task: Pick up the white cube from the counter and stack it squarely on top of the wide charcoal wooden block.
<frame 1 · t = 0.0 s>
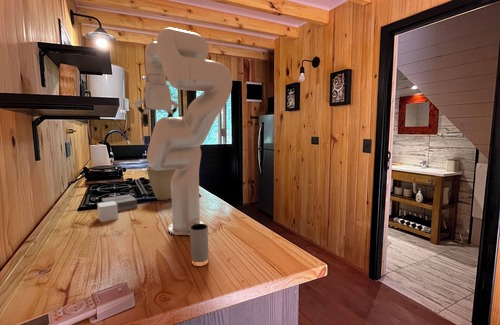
hand: (158, 124, 110), 37 cm above the counter, tool pointing down, fingers open, 9 cm apart
white cube: (108, 218, 107), on the counter
plant pot: (164, 198, 136), on the counter
charcoal block: (119, 207, 122), on the counter
grey cylinder: (200, 263, 73), on the counter
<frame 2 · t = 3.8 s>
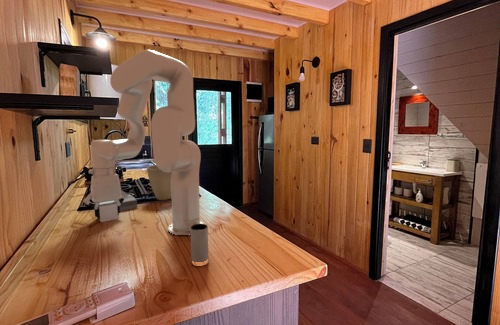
hand: (107, 216, 107), 1 cm above the counter, tool pointing down, fingers closed on white cube, 6 cm apart
white cube: (108, 218, 107), on the counter, touching gripper
everything else where it was.
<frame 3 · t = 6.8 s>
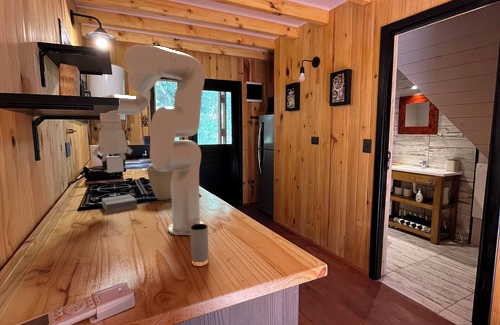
hand: (114, 168, 116), 18 cm above the counter, tool pointing down, fingers closed on white cube, 6 cm apart
white cube: (114, 170, 116), point 17 cm above the counter, touching gripper
everything else where it was.
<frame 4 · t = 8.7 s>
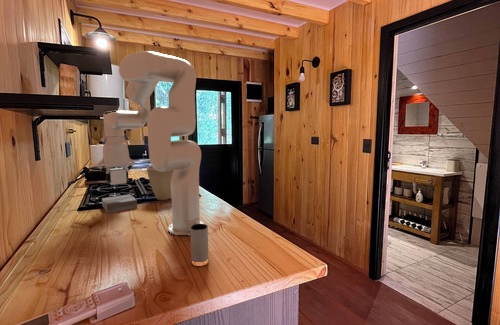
hand: (117, 180, 120), 12 cm above the counter, tool pointing down, fingers closed on white cube, 6 cm apart
white cube: (117, 182, 120), point 11 cm above the counter, touching gripper
everything else where it was.
when the fingers open (6 cm above the counter, at t = 10.2 s): white cube drops 2 cm, point 4 cm above the counter.
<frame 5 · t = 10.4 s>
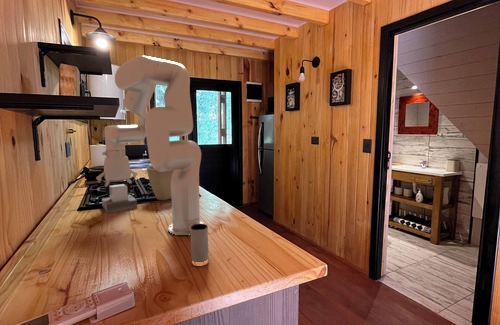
hand: (118, 193, 121), 6 cm above the counter, tool pointing down, fingers open, 7 cm apart
white cube: (119, 199, 121), point 4 cm above the counter
everything else where it was.
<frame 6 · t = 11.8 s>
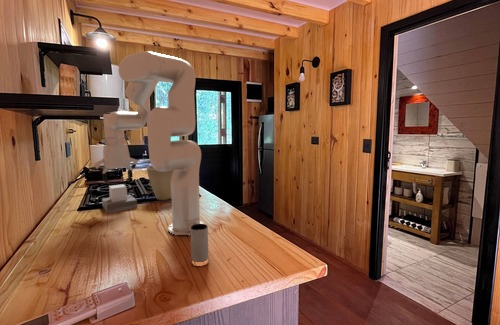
hand: (118, 180, 120), 12 cm above the counter, tool pointing down, fingers open, 9 cm apart
white cube: (118, 199, 121), point 3 cm above the counter, touching charcoal block
charcoal block: (119, 207, 122), on the counter, touching white cube
everything else where it was.
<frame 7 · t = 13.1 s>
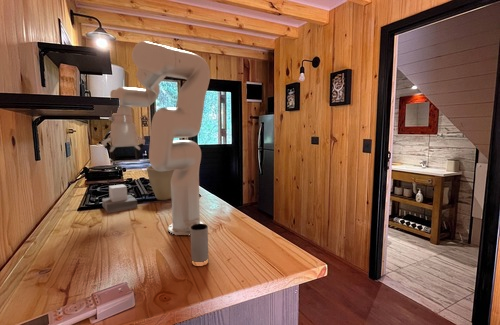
hand: (125, 159, 117), 21 cm above the counter, tool pointing down, fingers open, 9 cm apart
nothing on the counter moved.
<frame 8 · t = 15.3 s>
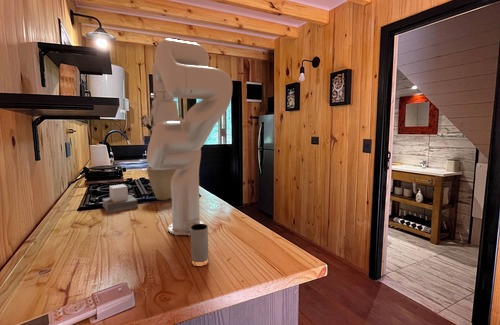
hand: (165, 140, 110), 30 cm above the counter, tool pointing down, fingers open, 9 cm apart
white cube: (119, 199, 121), point 3 cm above the counter
charcoal block: (120, 208, 122), on the counter
everything else where it was.
at the end: white cube inside the target area on the charcoal block (0.4 cm from its centre), point 4.0 cm above the charcoal block's base; white cube tilted 0°; the gripper is holding nothing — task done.
